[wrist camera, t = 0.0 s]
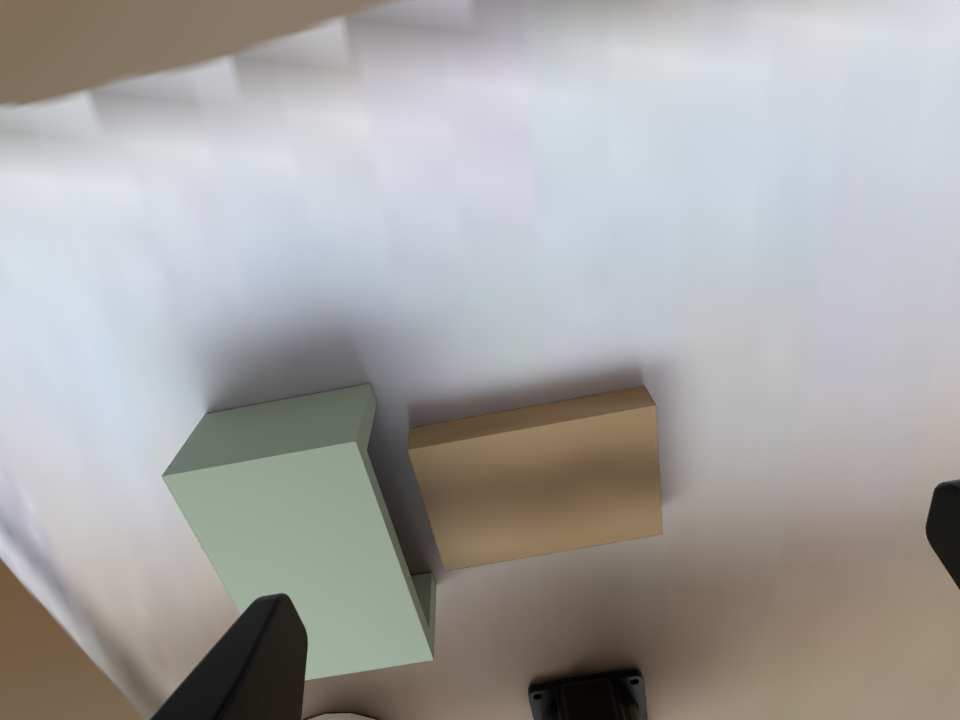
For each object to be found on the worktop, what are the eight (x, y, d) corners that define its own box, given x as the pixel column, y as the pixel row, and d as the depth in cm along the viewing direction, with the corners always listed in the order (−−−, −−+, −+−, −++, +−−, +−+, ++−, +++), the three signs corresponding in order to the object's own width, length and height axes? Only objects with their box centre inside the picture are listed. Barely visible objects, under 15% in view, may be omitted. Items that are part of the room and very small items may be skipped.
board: (649, 504, 28) (662, 534, 26) (445, 539, 28) (444, 571, 26) (640, 380, 24) (656, 405, 23) (410, 422, 25) (407, 449, 23)
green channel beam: (436, 586, 29) (433, 660, 25) (301, 608, 29) (280, 684, 26) (370, 383, 23) (355, 441, 20) (205, 413, 24) (161, 476, 20)
